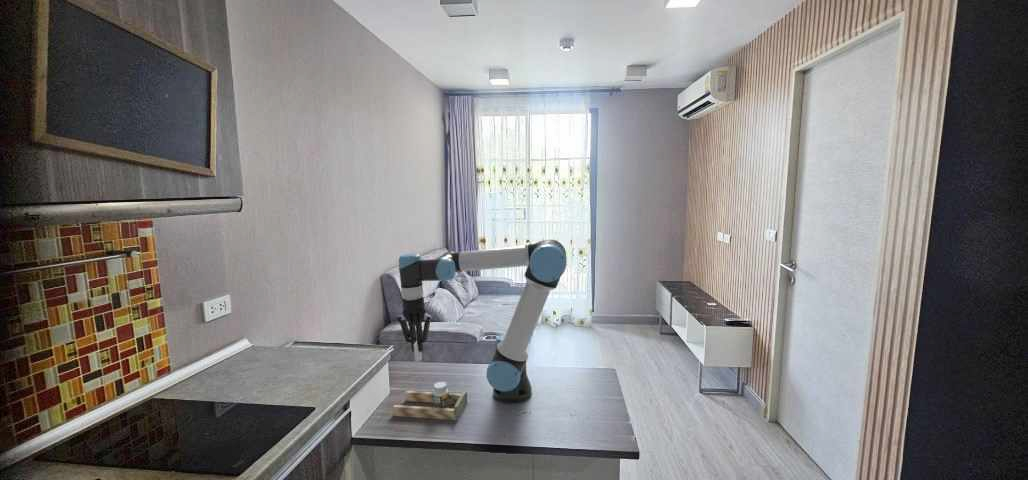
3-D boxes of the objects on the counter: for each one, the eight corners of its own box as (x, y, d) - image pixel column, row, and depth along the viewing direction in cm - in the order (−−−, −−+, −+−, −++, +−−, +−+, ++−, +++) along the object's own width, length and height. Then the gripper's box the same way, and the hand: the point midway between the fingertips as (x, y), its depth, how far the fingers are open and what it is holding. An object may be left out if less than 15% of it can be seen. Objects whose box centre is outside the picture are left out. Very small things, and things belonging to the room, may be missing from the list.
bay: (467, 402, 151) (466, 390, 150) (458, 420, 139) (457, 406, 139) (407, 399, 155) (406, 387, 154) (393, 415, 144) (392, 402, 143)
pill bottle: (445, 415, 143) (444, 389, 141) (431, 413, 144) (429, 387, 143) (452, 406, 148) (450, 381, 147) (438, 405, 150) (436, 380, 148)
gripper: (433, 294, 145) (439, 355, 148) (400, 294, 147) (406, 355, 150) (425, 300, 137) (431, 364, 140) (391, 300, 140) (397, 363, 143)
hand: (418, 359), depth 145 cm, fingers closed
